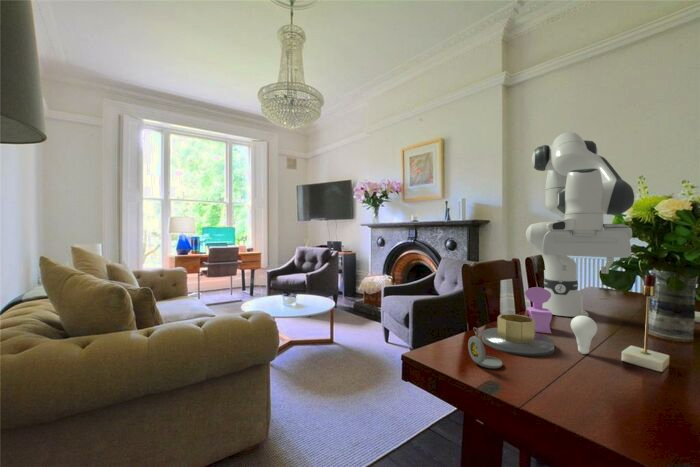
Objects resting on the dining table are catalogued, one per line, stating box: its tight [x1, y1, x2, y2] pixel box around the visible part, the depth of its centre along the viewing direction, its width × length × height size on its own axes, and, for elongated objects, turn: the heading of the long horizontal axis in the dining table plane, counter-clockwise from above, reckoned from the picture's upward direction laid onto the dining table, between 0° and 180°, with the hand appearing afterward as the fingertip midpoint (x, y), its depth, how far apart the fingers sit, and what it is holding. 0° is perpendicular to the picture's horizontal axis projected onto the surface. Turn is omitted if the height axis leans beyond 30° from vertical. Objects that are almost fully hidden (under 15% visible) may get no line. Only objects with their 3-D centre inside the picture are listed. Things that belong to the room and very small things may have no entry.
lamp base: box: [481, 313, 555, 357], centre depth 96 cm, size 20×20×8 cm
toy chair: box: [524, 286, 553, 334], centre depth 110 cm, size 8×9×15 cm
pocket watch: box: [467, 327, 503, 369], centre depth 81 cm, size 8×8×10 cm
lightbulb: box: [570, 316, 598, 355], centre depth 88 cm, size 6×6×11 cm
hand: (583, 272), depth 88 cm, fingers open, 8 cm apart
